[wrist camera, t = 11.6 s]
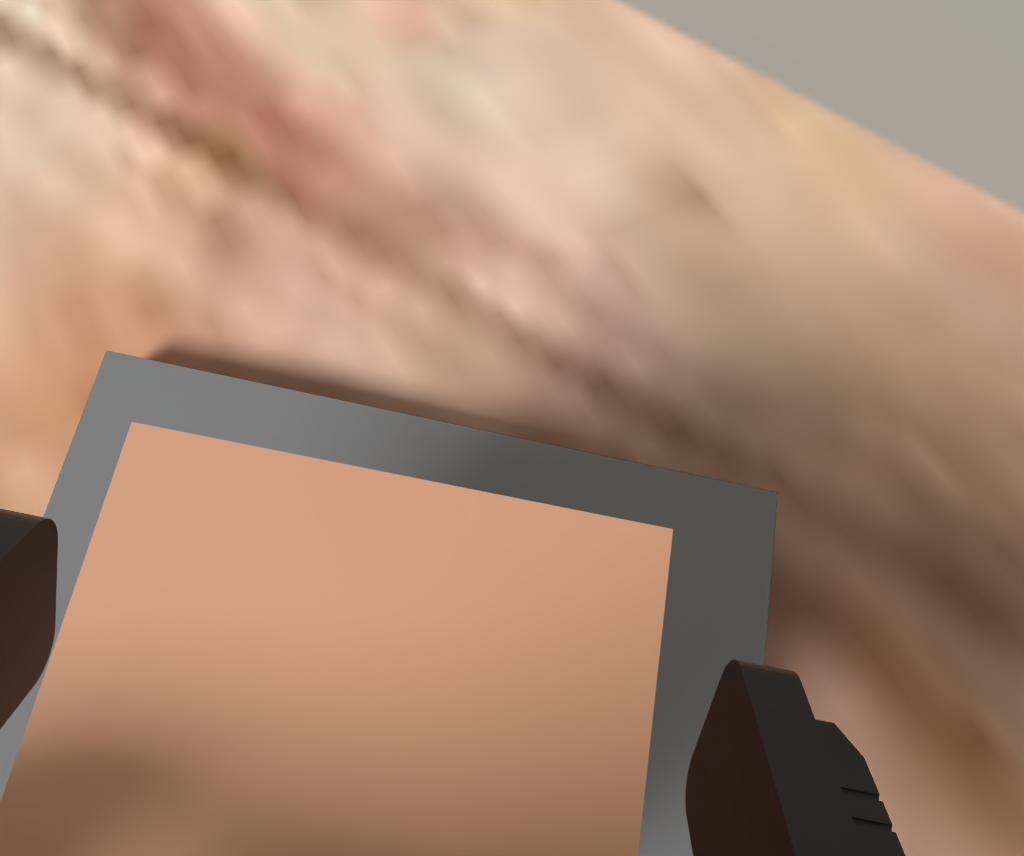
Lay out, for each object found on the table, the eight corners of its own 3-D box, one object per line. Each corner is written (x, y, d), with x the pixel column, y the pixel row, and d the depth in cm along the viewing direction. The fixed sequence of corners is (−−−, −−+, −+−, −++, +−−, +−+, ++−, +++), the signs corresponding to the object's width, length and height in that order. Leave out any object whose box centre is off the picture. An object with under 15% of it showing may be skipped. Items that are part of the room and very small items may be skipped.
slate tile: (757, 508, 21) (777, 492, 20) (689, 1308, 16) (712, 1346, 15) (121, 375, 21) (106, 350, 19) (-169, 1162, 15) (-212, 1190, 14)
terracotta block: (527, 669, 18) (672, 528, 9) (480, 967, 16) (602, 1182, 7) (263, 618, 18) (131, 422, 9) (184, 916, 16) (-91, 1069, 7)
